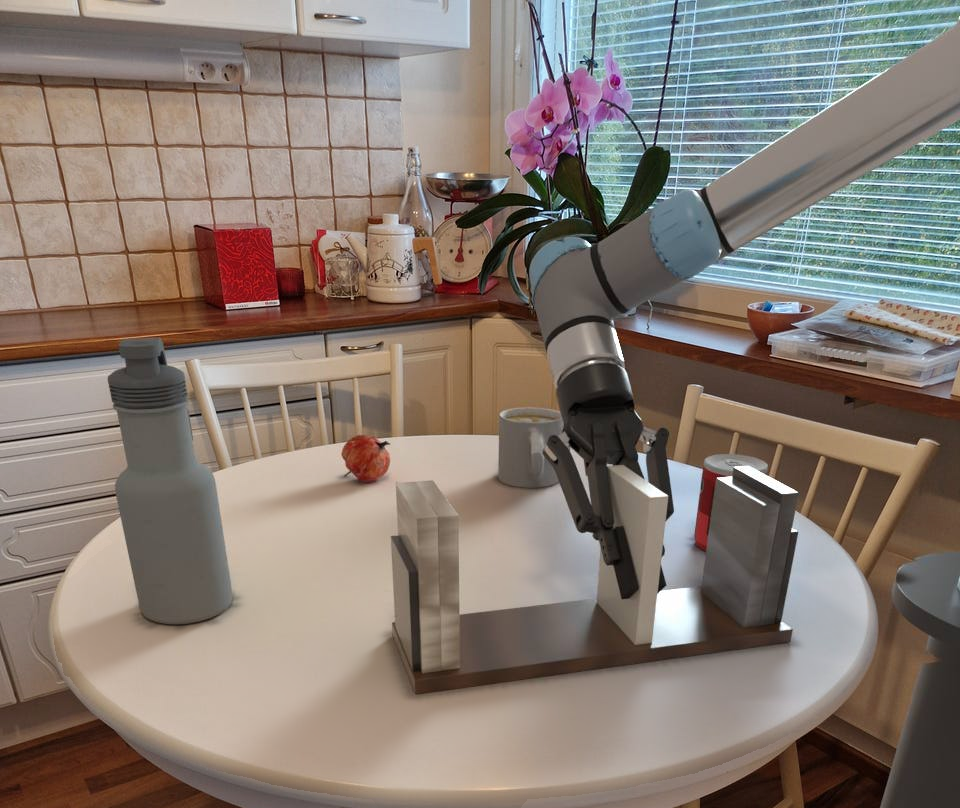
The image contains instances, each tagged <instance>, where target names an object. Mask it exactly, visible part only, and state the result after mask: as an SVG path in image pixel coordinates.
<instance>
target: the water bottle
mask: <svg viewBox="0 0 960 808" xmlns="http://www.w3.org/2000/svg"><path fill="white" fill-rule="evenodd" d="M117 345H118V350H119V356H120V359H124V362H125V367H121V368H119V369H116V370H114V371H112V372H111V373H110V374H109V375H108V376H107V384H108V389H109V393H110V398H111V403H113V404H112V408H113V409H114V411H116V414H117V419H118V424H119V430H120V434H121V440H122V444H123V449H124V454H125V461H126V465H127V466H126V468H125V469H124V470H123V471H121V472H120V474H119V475H118V477H117V478H116V481H115V484H114V490H115V491H114V492H115V496H116V497H115V498H116V502H117V506H118V512H119V516H120V521H121V526H122V530H123V535H124V539H125V545H126V550H127V554H128V559H129V564H130V569H131V573H132V578H133V584H134V587H135V592H136V597H137V601H138V607H139V609H140V612H141V613H142V614H143V616H144V617H146V618H147V619H149V620H150V621H153V622H155V623H160V624H165V625H189V624H195V623H199V622H203V621H206V620H210V619H211V618H214V617H216V616H218V615H220V614H221V613H223V612H224V611H225V610H227V608H229V606H230V605H231V603H232V600H233V595H234V593H233V587H232V580H231V574H230V569H229V560H228V555H227V549H226V542H225V536H224V529H223V522H222V515H221V509H220V502H219V495H218V489H217V483H216V478H215V476H214V474H213V472H212V470H211V469H210V468H208V467H207V466H206V465H205V464H203V463H201V462H199V461H198V460H197V458H196V453H195V448H194V435H193V429H192V423H191V416H190V410H189V408H188V405H189V404H190V400H189V398H188V397H189V393H188V389H187V384H186V383H187V382H186V376H185V375H186V374H185V372H184V371H183V370H181V369H179V368H177V367H176V366H173V365H168V359H167V355H166V351H165V347H164V343H163V340H162V337H141V338H140V337H139V338H123V339H122V340H121V341H120V342H119V343H118V344H117Z"/></svg>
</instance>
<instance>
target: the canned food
mask: <svg viewBox="0 0 960 808" xmlns="http://www.w3.org/2000/svg"><path fill="white" fill-rule="evenodd" d="M743 466H749V467H751V468H753V469H755V470H757V471H759V472H761V473H763V474H764V475H766V476H768V469H769V468H768V467H769V465H768V463H767V462H766V461H764V460H762V459H759V458H757V457H753V456H749V455H745V454H736V453H734V454H733V453H720V454H714V455H713V454H712V455H709V456H707V457H706V458H705V459H704V461H703V465H702V472H701V480H700V488H699V495H698V496H699V497H698V503H697V510H696V511H697V512H696V518H695V526H694V533H693V534H694V535H693V537H694V538H693V539H694V543H695V545H696V547H698V549H700V550H702V551H704V552H706V549H707V542H708V535H709V527H710V520H711V513H712V506H713V499H714V491H715V484H716V478H722V477H732V473H733V468H734V467H743Z"/></svg>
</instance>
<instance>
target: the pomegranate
mask: <svg viewBox="0 0 960 808" xmlns="http://www.w3.org/2000/svg"><path fill="white" fill-rule="evenodd" d="M390 445H391V443H390V442H388V440H385V441H382V442H381V440H379V439H378V438H377V437H375V436H368V435H365V434H357V435H355V436H352V437H351V438H350V439H348V440H347V442H346V443H345V444H344V445H343V447H342V450H341V454H340V455H341V457H342V459H343V460H344V463H345V467H346V468H347V470H348V472H346V474H343V476H344V478H346V477H347V476H348V475H350V474H351V473H352V475H354V476H355V477H356V479H357V480H358V481H360V482H363V483H372V482H374V481H376V480H377V479H379V478H381V477H383V476H384V475H385V474H386V473H387V472H388V470H389V468H390V464H391V455H390V453H389V451H388V449H386V446H390Z"/></svg>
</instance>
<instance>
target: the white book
mask: <svg viewBox="0 0 960 808" xmlns="http://www.w3.org/2000/svg"><path fill="white" fill-rule="evenodd" d="M607 471H608V479H609V486H610V493H611V501H612V508H613V516H614V525H613V527H614V528H615V527H618V526H623V528H624V532H625V536H626V540H627V544H628V548H629V552H630V556H631V560H632V564H633V567H634V571H635V575H636V579H637V583H638V587H639V589H638V590H637V591H636V592H635V593H634V594H633V595H632V596H631V597H630V598H629V599H621V595H620V591H619V587H618V583H617V578H616V574H615V570H614V566H613V565H610V566H607V565H606V564H605V562H604V560H603V555H602V551H601V549H600V550H599V551H600V552H599V564H598V579H597V591H596V592H597V593H596V598H597V603H598V604H599V606H600V607H601V608H602V609H603V610H604V611H605V612H606V613H607V614H608V615H609V617H610V618H611V619H612V620H613V621H614V622H615V623H616V624H617V625H618V627H619V628H620V629H621V630H622V631H623V632H624V633H625V634H626V635H627V636H628V638H629V639H630V640H631V641H632V642H633V643H634V644H635V645H639V644H647V643H652V638H653V629H654V620H655V611H656V602H657V593H658V584H659V575H660V566H662V558H663V557H662V548H663V545H664V537H665V531H666V529H665V528H666V522H667V521H666V513H667V504H668V496H667V495H666V494H665V493H663V492H662V491H660V490H659V489H657V488H656V487H654V486H653V485H652V484H650V483H649V482H648V480H646V479H645V478H644V479H645V480H644V479H643V478H641V477H640V476H638V475H637V474H636V473H634V472H633V471H631V470H630V469H628V468H627V467H625V466H624V465H616V466H613V465H607ZM661 557H662V558H661Z"/></svg>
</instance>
